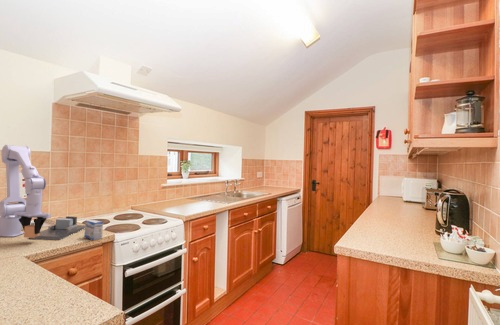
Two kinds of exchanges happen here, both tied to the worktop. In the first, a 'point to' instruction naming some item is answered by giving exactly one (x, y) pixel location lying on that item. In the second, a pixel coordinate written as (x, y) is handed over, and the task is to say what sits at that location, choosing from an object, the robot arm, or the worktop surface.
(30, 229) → the housing block
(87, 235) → the medicine box
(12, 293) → the worktop surface
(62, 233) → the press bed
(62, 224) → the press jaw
